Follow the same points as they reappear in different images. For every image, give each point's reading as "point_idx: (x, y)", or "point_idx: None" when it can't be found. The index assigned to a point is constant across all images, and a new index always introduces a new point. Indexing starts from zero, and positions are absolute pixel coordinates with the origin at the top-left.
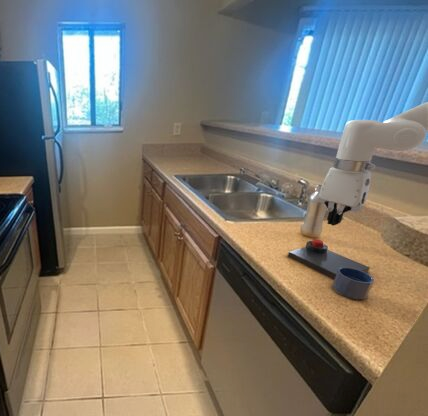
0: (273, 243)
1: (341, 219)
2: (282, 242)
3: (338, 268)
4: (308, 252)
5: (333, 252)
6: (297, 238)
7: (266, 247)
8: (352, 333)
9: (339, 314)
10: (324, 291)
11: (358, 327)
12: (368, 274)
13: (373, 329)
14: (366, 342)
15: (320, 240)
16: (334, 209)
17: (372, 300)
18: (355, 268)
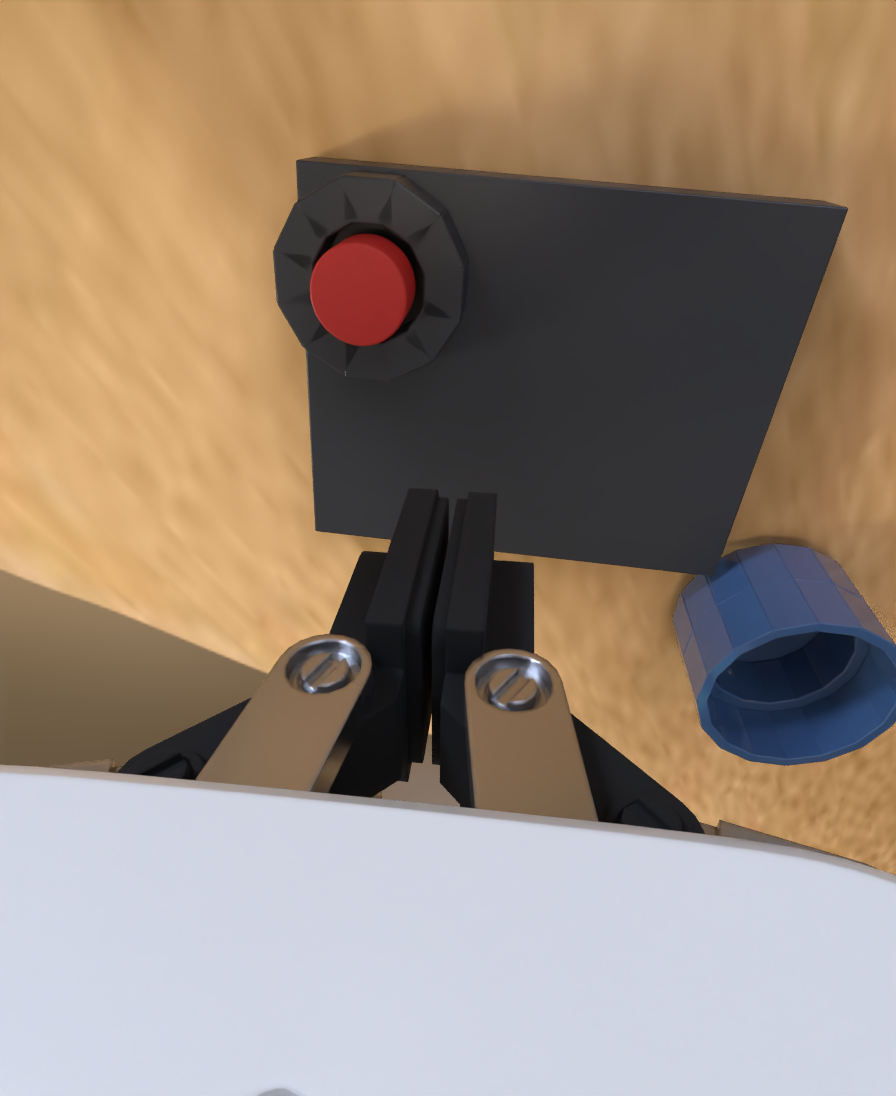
0: (119, 392)
1: (533, 594)
2: (119, 297)
3: (698, 704)
4: (390, 415)
5: (507, 186)
6: (68, 16)
7: (165, 502)
8: (822, 840)
9: (761, 785)
10: (659, 689)
11: (837, 804)
12: (878, 640)
13: (889, 780)
14: (869, 848)
15: (357, 252)
16: (382, 773)
17: (877, 586)
18: (747, 361)
